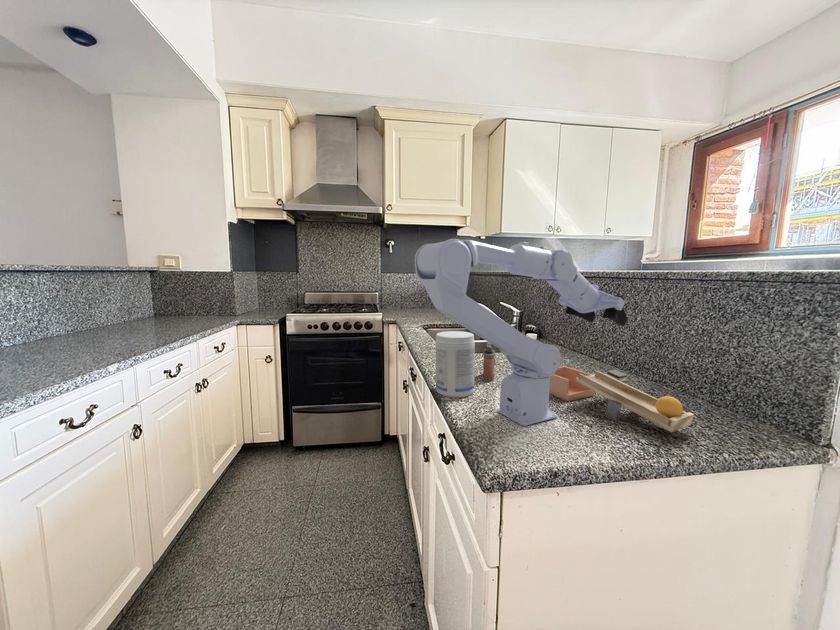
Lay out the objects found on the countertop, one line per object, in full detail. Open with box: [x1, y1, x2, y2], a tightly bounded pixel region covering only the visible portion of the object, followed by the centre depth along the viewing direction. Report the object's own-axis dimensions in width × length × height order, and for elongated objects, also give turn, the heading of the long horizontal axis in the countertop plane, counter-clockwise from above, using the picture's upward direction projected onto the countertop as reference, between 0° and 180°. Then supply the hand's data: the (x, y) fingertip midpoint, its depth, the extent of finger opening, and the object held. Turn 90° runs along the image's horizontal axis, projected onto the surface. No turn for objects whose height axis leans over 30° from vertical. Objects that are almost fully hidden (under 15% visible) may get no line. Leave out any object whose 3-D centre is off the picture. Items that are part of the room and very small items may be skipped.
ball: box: [656, 395, 684, 418], centre depth 60 cm, size 4×4×4 cm
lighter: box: [482, 341, 496, 382], centre depth 92 cm, size 8×3×10 cm, turn 168°
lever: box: [576, 369, 695, 433], centre depth 68 cm, size 13×20×2 cm, turn 26°
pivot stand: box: [606, 399, 622, 422], centre depth 67 cm, size 10×2×4 cm, turn 116°
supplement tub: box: [435, 330, 476, 399], centre depth 80 cm, size 10×10×15 cm
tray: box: [549, 365, 596, 402], centre depth 80 cm, size 9×9×5 cm
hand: (607, 320), depth 75 cm, fingers open, 7 cm apart
